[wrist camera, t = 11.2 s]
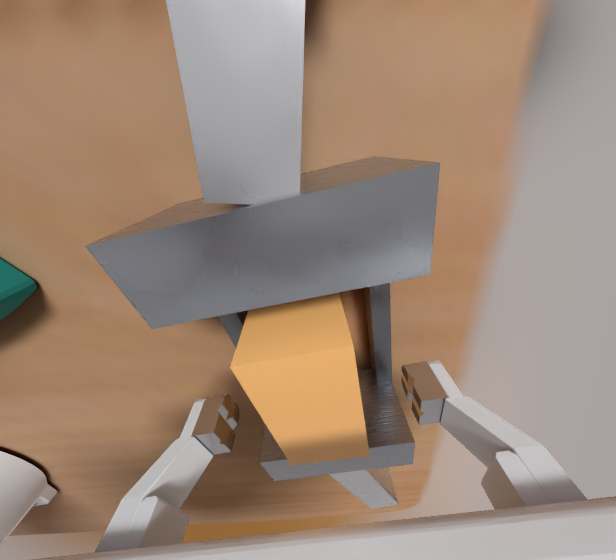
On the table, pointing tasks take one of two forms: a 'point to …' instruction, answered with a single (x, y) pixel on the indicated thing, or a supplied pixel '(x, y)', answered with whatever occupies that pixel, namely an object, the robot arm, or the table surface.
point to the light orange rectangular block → (304, 378)
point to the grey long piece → (278, 218)
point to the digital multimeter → (13, 288)
